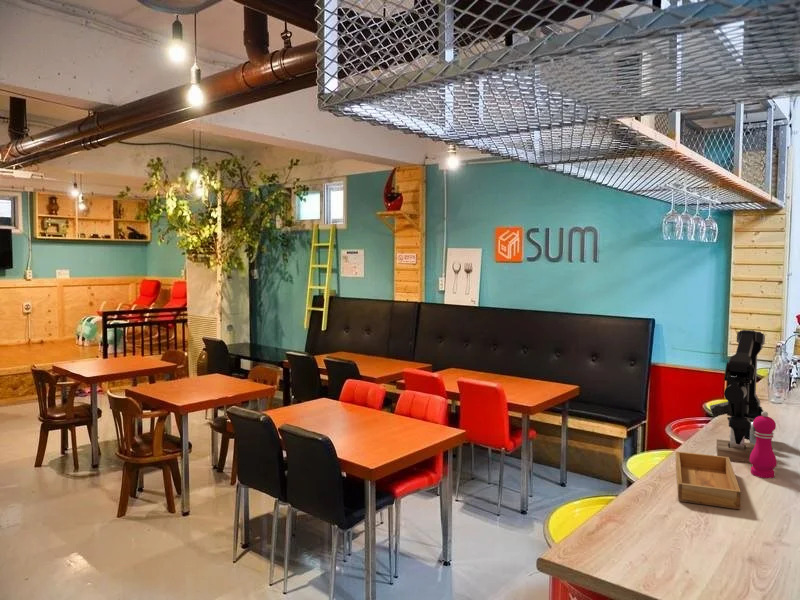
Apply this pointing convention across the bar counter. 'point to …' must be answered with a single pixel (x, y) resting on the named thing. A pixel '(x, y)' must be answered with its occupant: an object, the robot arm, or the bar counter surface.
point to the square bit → (733, 442)
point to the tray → (707, 480)
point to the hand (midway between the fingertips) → (737, 442)
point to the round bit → (752, 434)
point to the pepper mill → (763, 447)
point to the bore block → (734, 451)
